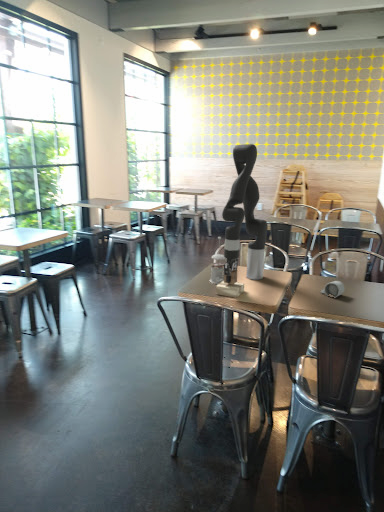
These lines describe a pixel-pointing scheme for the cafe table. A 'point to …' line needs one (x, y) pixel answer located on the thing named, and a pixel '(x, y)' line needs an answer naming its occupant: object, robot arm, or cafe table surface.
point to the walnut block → (232, 277)
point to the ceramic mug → (334, 288)
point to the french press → (216, 273)
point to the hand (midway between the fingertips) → (230, 280)
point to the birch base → (230, 289)
